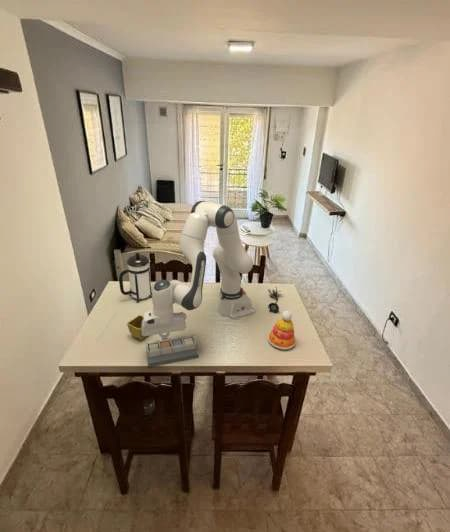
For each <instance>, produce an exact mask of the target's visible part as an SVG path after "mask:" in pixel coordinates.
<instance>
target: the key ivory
mask: <svg viewBox="0 0 450 532" xmlns="http://www.w3.org/2000/svg"><path fill="white" fill-rule="evenodd" d="M190 343H193V340H192V338H187V339H184V344H190Z"/></svg>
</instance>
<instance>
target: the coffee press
mask: <svg viewBox="0 0 450 532" xmlns="http://www.w3.org/2000/svg"><path fill="white" fill-rule="evenodd" d="M150 262H151V260H150V258H149V257H148V256H147V255H144V254H140V252H136V253H135V254H133V255H130V256H128V258H127V260H126V264H127V269H124V270H123V271H121V273H120V274H119V276H118V282H119V290H120V293H121V294H122V295H124V296H129V297H132V298H134V299H136V304H137V303H138V304H139V303H140V301H141V300H142V299H143V300H144V299H147V298H149V297H150V298H151V299H152V283H151V273H150V271H151V270H150V268H151V267H150ZM126 274H128V279H129V287H130V288H129V290H128V291H125V290H124V282H123V277H124V276H125V275H126Z"/></svg>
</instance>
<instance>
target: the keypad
mask: <svg viewBox="0 0 450 532" xmlns="http://www.w3.org/2000/svg"><path fill="white" fill-rule="evenodd" d="M187 338H192V340H193V343H190V344H184V339H187ZM175 340H181V343H182V345H179V346H173V343H172V341H175ZM164 342H169V343H170V347H168V348H161V343H164ZM152 344H158V349H156V350H151V351H150V349H149V345H152ZM197 345H198V344H197V341H196V338H195V335H194V334H192V335H184V336H179V337H173V338H168V339H167V340H162V339H161V340H155V341H150V342H146V343H145V348H146V354H147V365H148V368H152V367H156V366H157V367H158V366H163V365H168V364H173V363H179V362H183V361H188V360H194V359H197V358H199V352H198V349H197V347H198V346H197Z"/></svg>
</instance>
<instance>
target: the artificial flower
mask: <svg viewBox="0 0 450 532" xmlns="http://www.w3.org/2000/svg"><path fill="white" fill-rule="evenodd" d="M275 289H276V290H275ZM275 289H274V288H273V289H272V290H271V289H269V288H268V289H267V291H268V293H269V294H270V295H269V297H271V296H273V298H274V299H275V302H270V303H269V304H268V307H267V308H268V309H267V310H268V312H269V313H273V314H277V313H279V311H280V308H279V307H280V306H279V305H278V297H279V295H278V294H279V293H281V292H282V290H279V291H278V287H277V286H275Z"/></svg>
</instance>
